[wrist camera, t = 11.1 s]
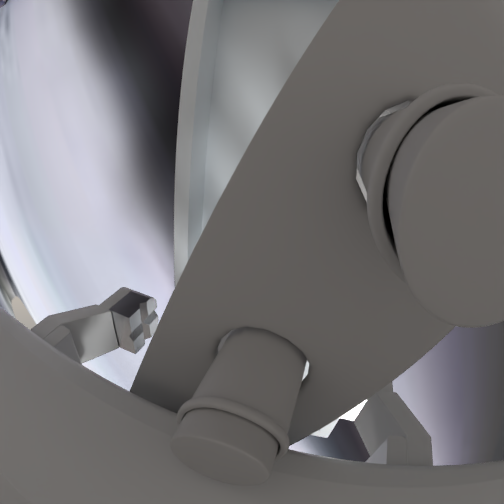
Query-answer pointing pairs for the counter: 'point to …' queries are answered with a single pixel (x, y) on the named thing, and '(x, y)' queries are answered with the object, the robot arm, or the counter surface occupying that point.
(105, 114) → the counter surface
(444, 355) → the counter surface
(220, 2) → the tray
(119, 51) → the counter surface
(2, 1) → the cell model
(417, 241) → the test tube rack
